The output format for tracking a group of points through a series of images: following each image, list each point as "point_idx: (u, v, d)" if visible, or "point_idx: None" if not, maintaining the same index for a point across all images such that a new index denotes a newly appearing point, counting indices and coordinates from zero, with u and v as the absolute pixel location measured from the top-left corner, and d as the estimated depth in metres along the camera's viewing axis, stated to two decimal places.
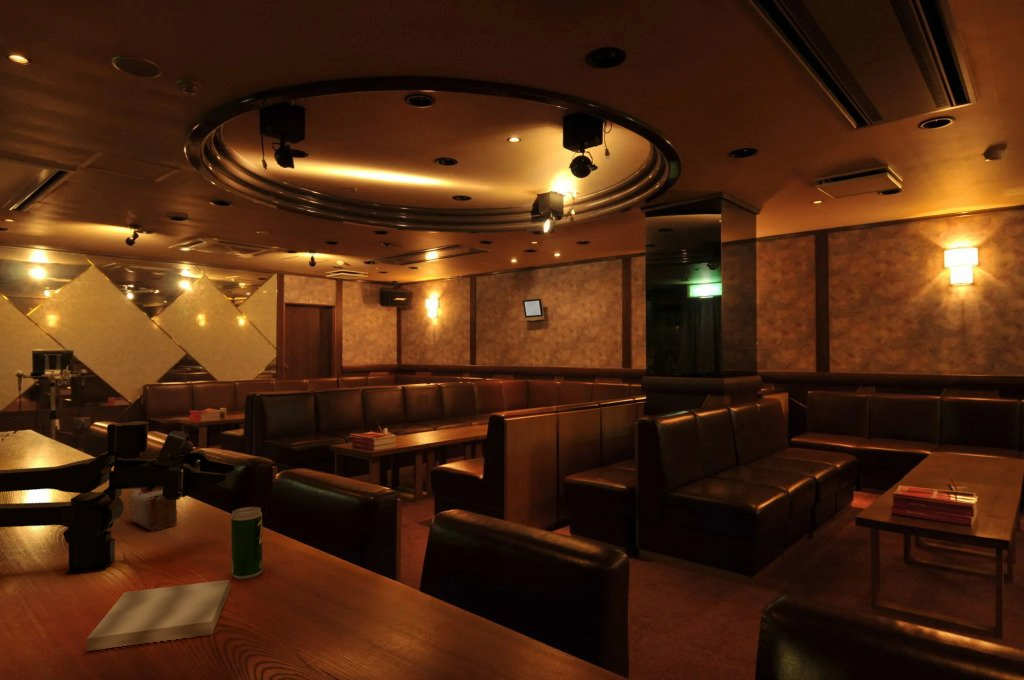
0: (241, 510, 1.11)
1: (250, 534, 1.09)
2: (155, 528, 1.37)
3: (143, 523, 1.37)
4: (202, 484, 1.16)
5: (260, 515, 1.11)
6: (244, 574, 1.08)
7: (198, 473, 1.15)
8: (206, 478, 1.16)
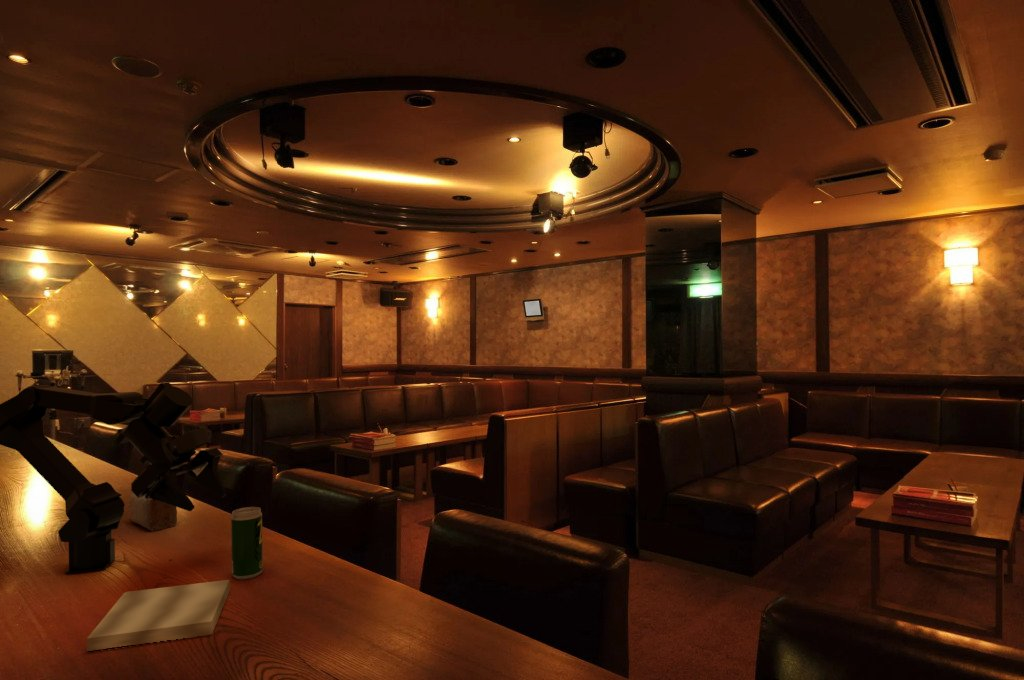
0: (241, 510, 1.11)
1: (250, 534, 1.09)
2: (155, 528, 1.37)
3: (143, 523, 1.37)
4: (169, 499, 1.07)
5: (260, 515, 1.11)
6: (244, 574, 1.08)
7: (173, 488, 1.06)
8: (177, 497, 1.07)
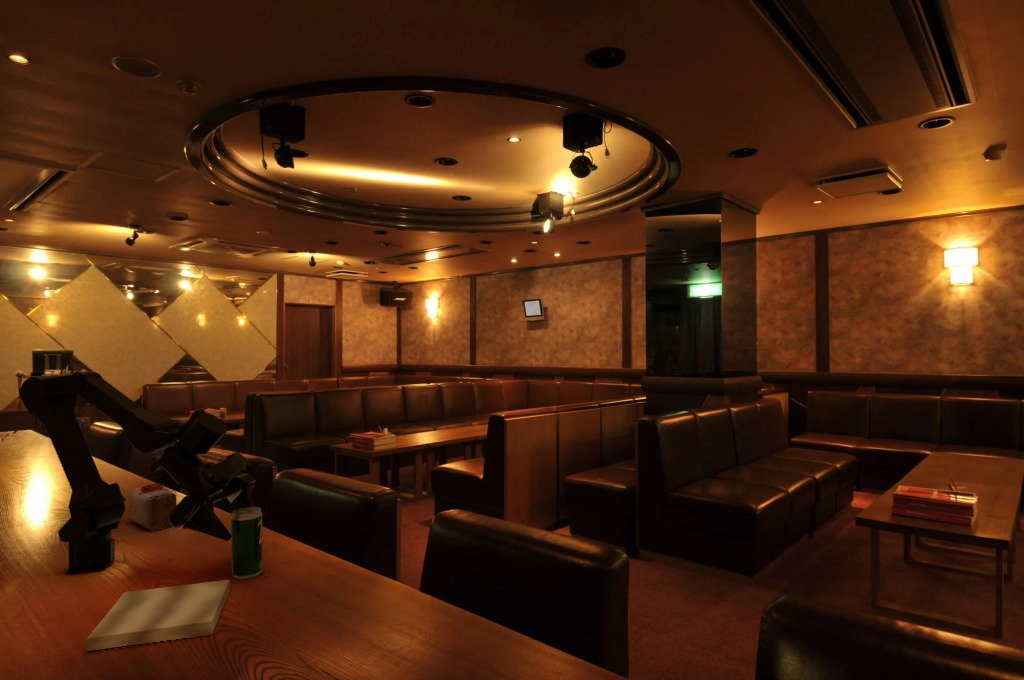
0: (241, 510, 1.11)
1: (250, 534, 1.09)
2: (155, 528, 1.37)
3: (143, 523, 1.37)
4: (207, 529, 1.06)
5: (260, 515, 1.11)
6: (244, 574, 1.08)
7: (211, 518, 1.05)
8: (214, 526, 1.06)
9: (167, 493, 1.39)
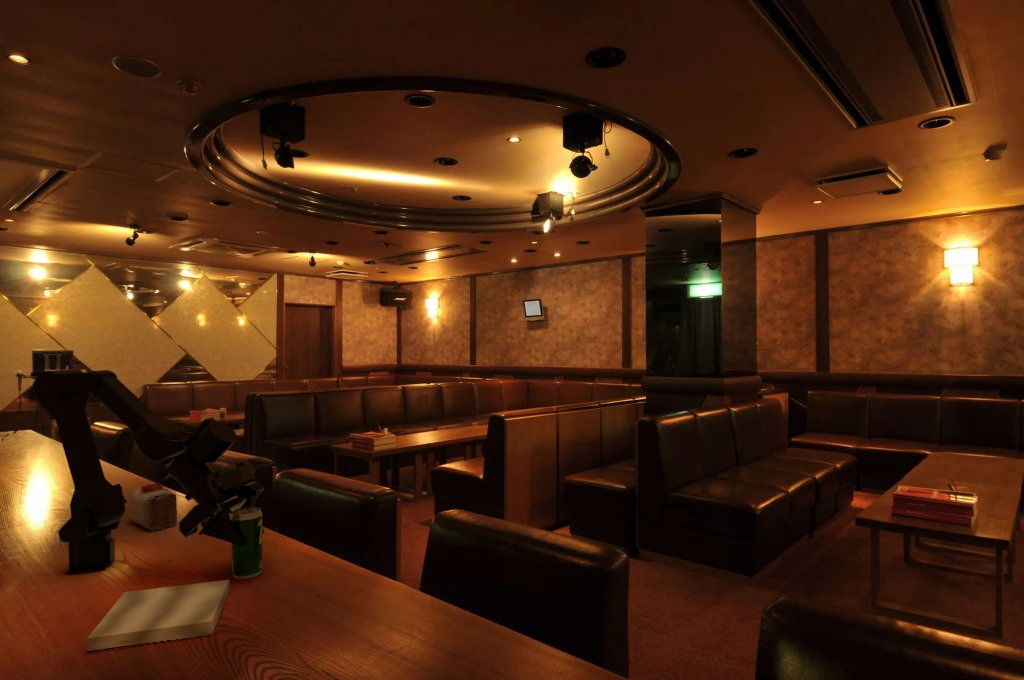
0: (241, 510, 1.11)
1: (250, 534, 1.09)
2: (155, 528, 1.37)
3: (143, 523, 1.37)
4: (222, 535, 1.07)
5: (260, 515, 1.11)
6: (244, 574, 1.08)
7: (227, 524, 1.07)
8: (230, 533, 1.07)
9: (167, 493, 1.39)
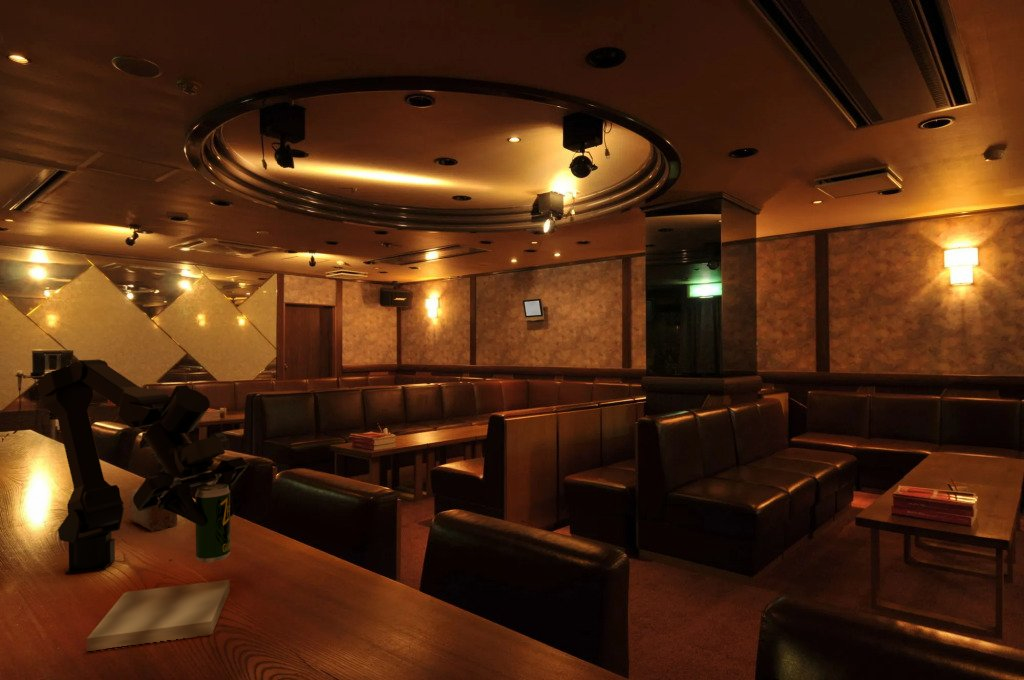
0: (208, 486, 1.02)
1: (211, 513, 0.99)
2: (155, 528, 1.37)
3: (143, 523, 1.37)
4: (182, 511, 0.99)
5: (225, 493, 1.01)
6: (204, 556, 0.99)
7: (184, 500, 0.98)
8: (188, 510, 0.98)
9: None
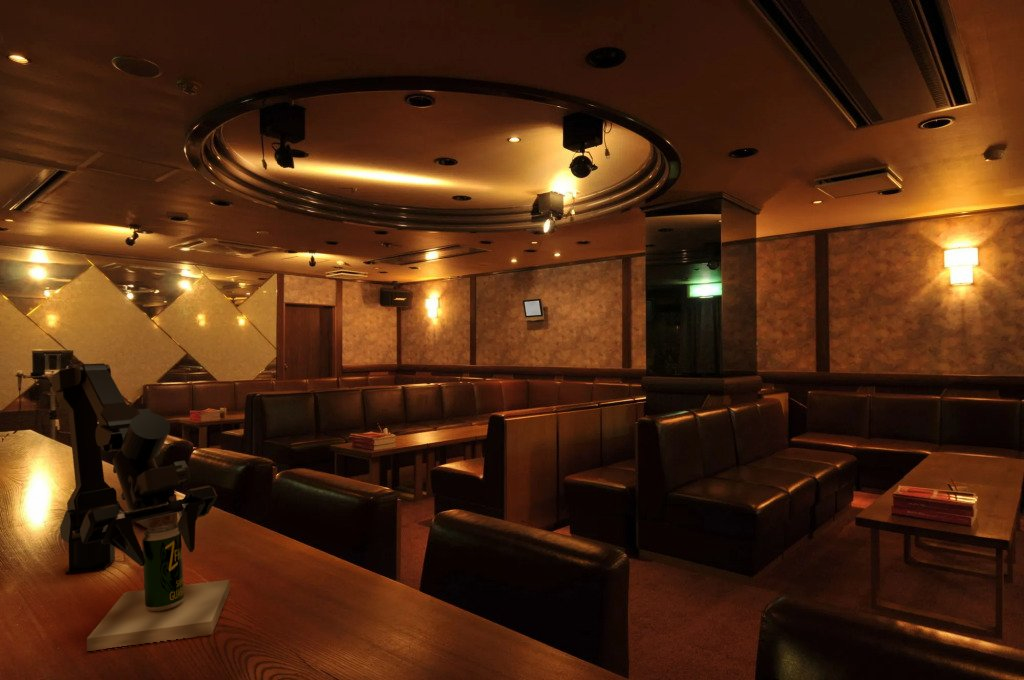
0: (159, 528, 0.95)
1: (155, 558, 0.91)
2: None
3: (144, 523, 1.37)
4: (124, 548, 0.91)
5: (171, 536, 0.93)
6: (150, 605, 0.91)
7: (125, 536, 0.90)
8: (129, 547, 0.91)
9: None
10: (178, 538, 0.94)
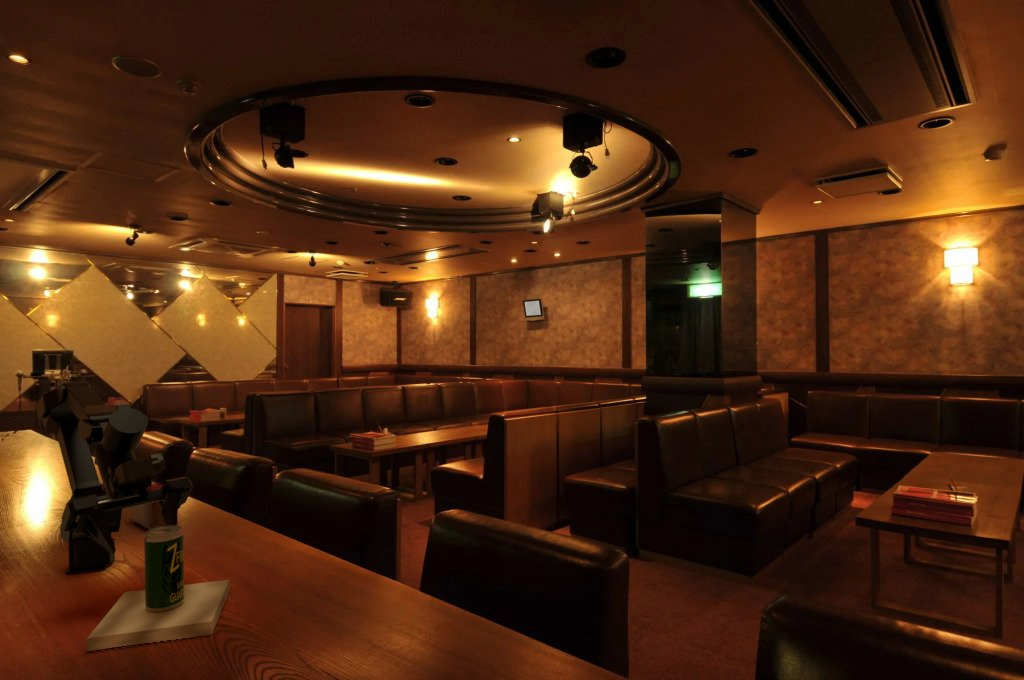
0: (161, 528, 0.95)
1: (157, 560, 0.91)
2: None
3: (144, 523, 1.37)
4: (96, 537, 0.97)
5: (173, 538, 0.93)
6: (150, 606, 0.91)
7: (96, 526, 0.96)
8: (100, 536, 0.96)
9: None
10: (180, 540, 0.94)
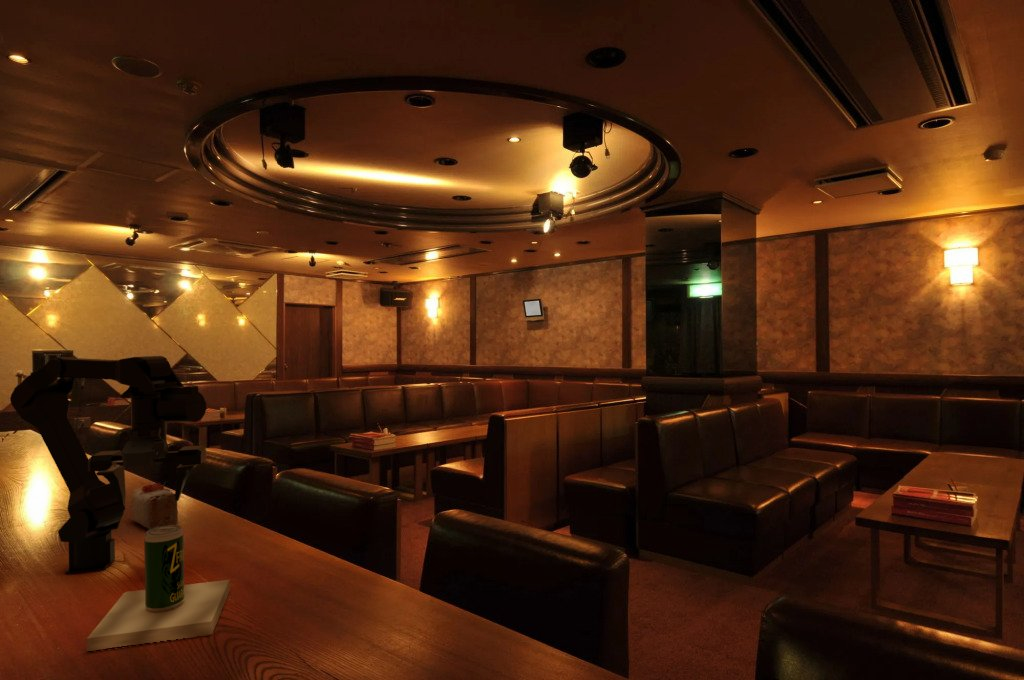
0: (161, 528, 0.95)
1: (156, 560, 0.91)
2: None
3: (144, 523, 1.37)
4: None
5: (173, 538, 0.93)
6: (150, 606, 0.91)
7: (110, 482, 1.10)
8: None
9: (168, 493, 1.39)
10: (180, 540, 0.94)
